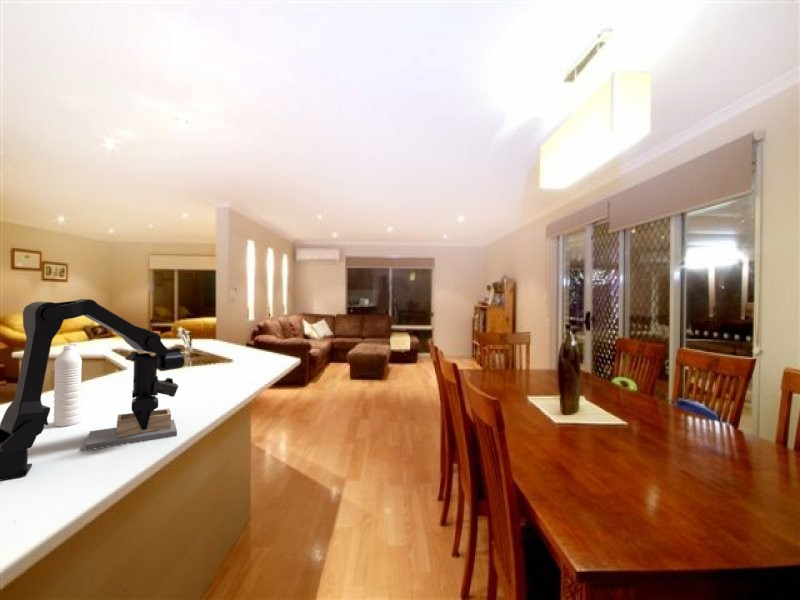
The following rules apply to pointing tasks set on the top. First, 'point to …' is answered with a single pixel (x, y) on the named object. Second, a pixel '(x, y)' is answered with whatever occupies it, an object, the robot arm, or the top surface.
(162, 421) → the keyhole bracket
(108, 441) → the grey plate with ball
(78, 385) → the water bottle
